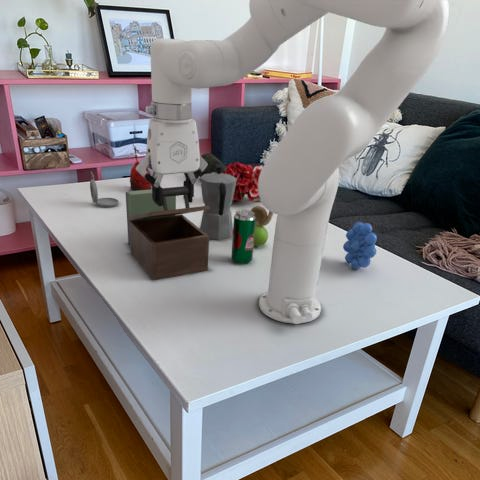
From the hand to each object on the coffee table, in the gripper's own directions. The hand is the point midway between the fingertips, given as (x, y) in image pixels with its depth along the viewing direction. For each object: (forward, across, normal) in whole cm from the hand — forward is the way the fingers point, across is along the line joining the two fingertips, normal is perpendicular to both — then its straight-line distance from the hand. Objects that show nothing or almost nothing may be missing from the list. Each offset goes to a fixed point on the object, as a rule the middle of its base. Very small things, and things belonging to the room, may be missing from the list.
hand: (173, 201), depth 104 cm
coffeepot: (+15, +18, +14) cm, 28 cm away
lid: (+4, 0, +3) cm, 5 cm away
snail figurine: (+16, +25, +4) cm, 30 cm away
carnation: (+15, +39, +46) cm, 62 cm away
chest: (+15, 0, +3) cm, 16 cm away
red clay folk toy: (+15, +13, +56) cm, 60 cm away
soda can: (+16, +16, -2) cm, 23 cm away
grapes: (+16, +41, -17) cm, 47 cm away
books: (+15, 0, +14) cm, 21 cm away
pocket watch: (+15, -2, +47) cm, 50 cm away
